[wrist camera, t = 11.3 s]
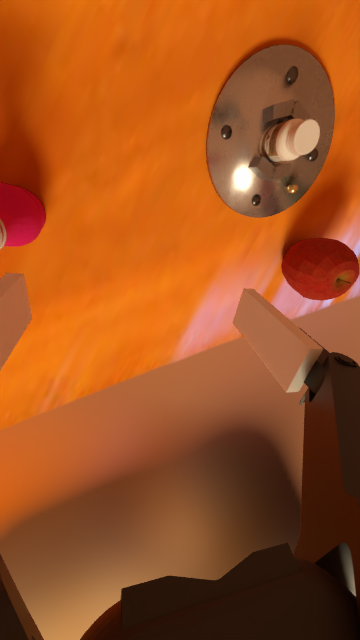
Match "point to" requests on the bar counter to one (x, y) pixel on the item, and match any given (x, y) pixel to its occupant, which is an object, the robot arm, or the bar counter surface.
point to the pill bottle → (289, 140)
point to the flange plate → (255, 118)
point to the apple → (320, 268)
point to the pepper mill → (19, 216)
